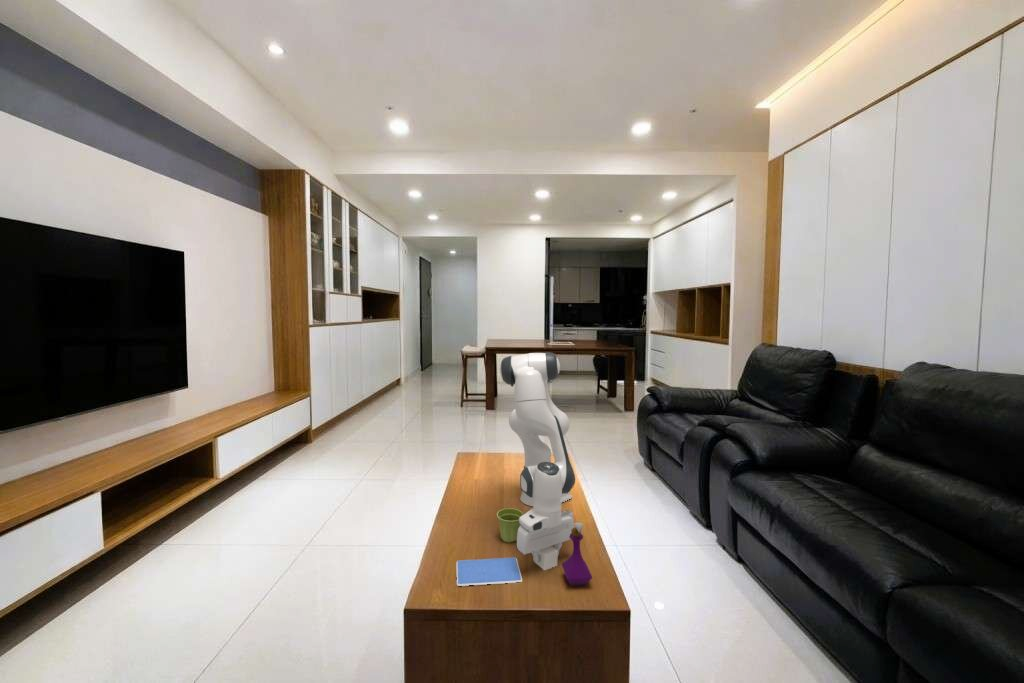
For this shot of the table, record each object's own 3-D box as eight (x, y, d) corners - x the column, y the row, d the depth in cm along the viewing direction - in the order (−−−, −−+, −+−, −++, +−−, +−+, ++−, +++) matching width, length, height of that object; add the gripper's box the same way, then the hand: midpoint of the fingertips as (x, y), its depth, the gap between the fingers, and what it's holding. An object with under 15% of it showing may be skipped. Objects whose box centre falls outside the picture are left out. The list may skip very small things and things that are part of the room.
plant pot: (526, 534, 153) (527, 510, 153) (518, 547, 144) (518, 522, 144) (502, 529, 156) (502, 506, 156) (492, 542, 147) (492, 517, 147)
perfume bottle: (561, 573, 130) (562, 516, 129) (585, 573, 131) (587, 515, 130) (566, 589, 123) (568, 528, 122) (592, 588, 123) (593, 528, 122)
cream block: (547, 558, 139) (548, 543, 138) (557, 566, 134) (557, 550, 134) (535, 562, 136) (535, 547, 136) (544, 570, 132) (544, 555, 131)
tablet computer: (516, 560, 138) (516, 556, 138) (523, 584, 126) (523, 580, 126) (456, 563, 135) (456, 559, 135) (456, 589, 123) (456, 585, 123)
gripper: (567, 504, 142) (566, 544, 143) (514, 519, 132) (513, 562, 133) (579, 512, 137) (578, 554, 138) (525, 528, 126) (524, 573, 127)
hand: (546, 558), depth 135 cm, fingers open, 6 cm apart
